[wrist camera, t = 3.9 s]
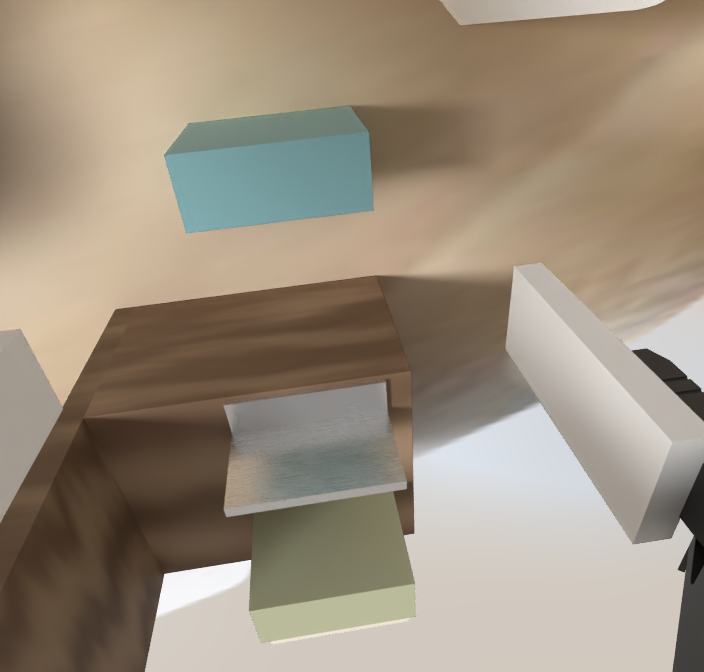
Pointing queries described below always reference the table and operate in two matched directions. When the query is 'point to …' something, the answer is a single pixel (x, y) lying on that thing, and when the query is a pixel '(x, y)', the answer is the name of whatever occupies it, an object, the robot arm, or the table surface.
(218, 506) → the walnut shelf
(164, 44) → the table surface
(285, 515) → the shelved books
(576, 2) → the milk
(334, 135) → the teal book
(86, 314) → the table surface
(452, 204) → the table surface
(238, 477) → the bookend
